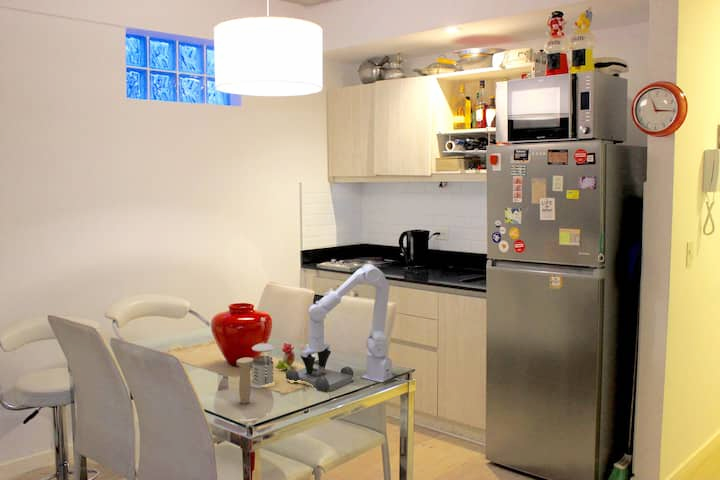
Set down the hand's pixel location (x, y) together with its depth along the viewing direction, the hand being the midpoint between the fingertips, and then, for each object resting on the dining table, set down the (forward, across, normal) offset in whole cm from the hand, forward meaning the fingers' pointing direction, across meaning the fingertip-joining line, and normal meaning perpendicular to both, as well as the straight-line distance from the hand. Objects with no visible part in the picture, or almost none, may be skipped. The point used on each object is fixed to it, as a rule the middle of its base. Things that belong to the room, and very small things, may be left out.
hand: (315, 371), depth 268 cm
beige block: (+3, 0, 0) cm, 3 cm away
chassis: (+3, 0, +2) cm, 4 cm away
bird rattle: (+4, -3, -17) cm, 18 cm away
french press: (+4, +16, -12) cm, 20 cm away
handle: (+4, +34, -4) cm, 34 cm away
